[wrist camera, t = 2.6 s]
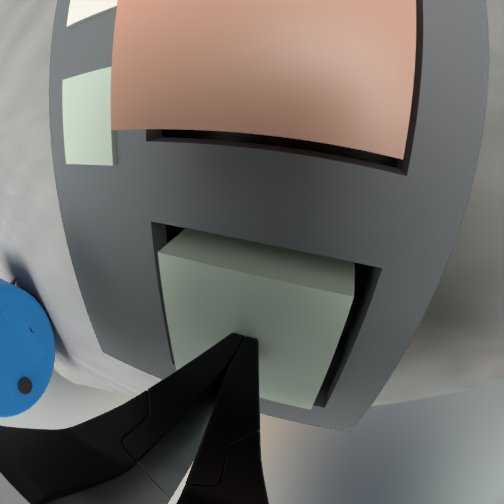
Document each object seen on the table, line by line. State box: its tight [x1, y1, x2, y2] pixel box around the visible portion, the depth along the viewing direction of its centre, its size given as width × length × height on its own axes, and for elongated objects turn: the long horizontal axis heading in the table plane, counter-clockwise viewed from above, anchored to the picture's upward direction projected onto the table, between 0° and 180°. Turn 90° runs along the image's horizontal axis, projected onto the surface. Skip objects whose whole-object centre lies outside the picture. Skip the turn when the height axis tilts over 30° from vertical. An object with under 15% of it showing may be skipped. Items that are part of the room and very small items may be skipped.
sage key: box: [158, 228, 355, 410], centre depth 10 cm, size 5×5×4 cm
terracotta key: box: [111, 0, 416, 160], centre depth 5 cm, size 5×5×4 cm
